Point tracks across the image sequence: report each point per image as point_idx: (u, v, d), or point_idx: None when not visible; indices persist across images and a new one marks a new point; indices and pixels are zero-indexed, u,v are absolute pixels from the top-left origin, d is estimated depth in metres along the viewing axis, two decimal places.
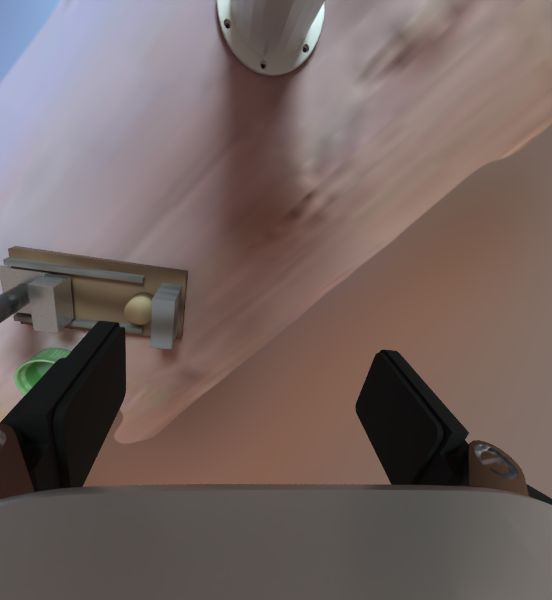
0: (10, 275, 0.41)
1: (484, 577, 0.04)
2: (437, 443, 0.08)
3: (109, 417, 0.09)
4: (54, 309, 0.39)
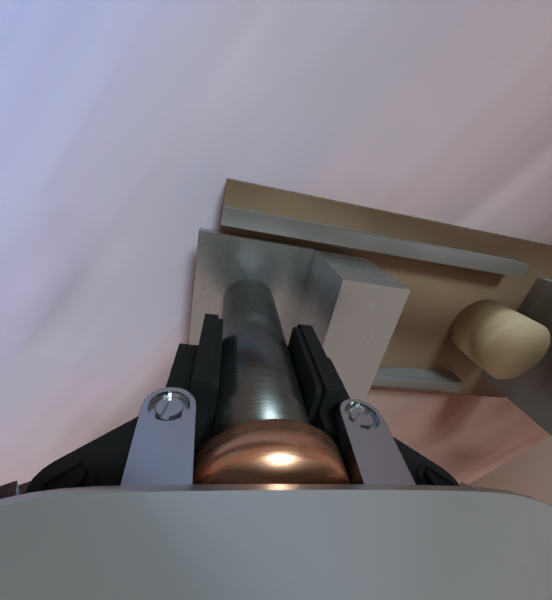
0: (223, 257, 0.15)
1: (484, 577, 0.04)
2: (317, 402, 0.08)
3: None
4: (382, 354, 0.13)
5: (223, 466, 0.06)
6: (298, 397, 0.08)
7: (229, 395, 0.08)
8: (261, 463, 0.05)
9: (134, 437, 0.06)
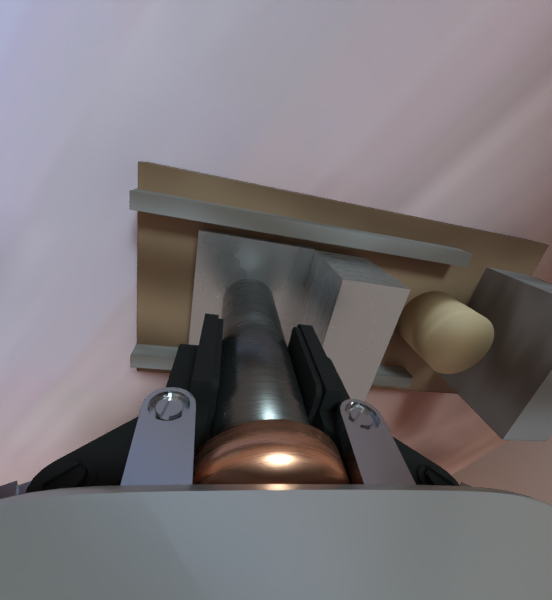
0: (223, 257, 0.15)
1: (483, 576, 0.04)
2: (317, 402, 0.08)
3: None
4: (382, 354, 0.13)
5: (222, 467, 0.06)
6: (297, 396, 0.08)
7: (228, 396, 0.08)
8: (260, 464, 0.05)
9: (134, 437, 0.06)
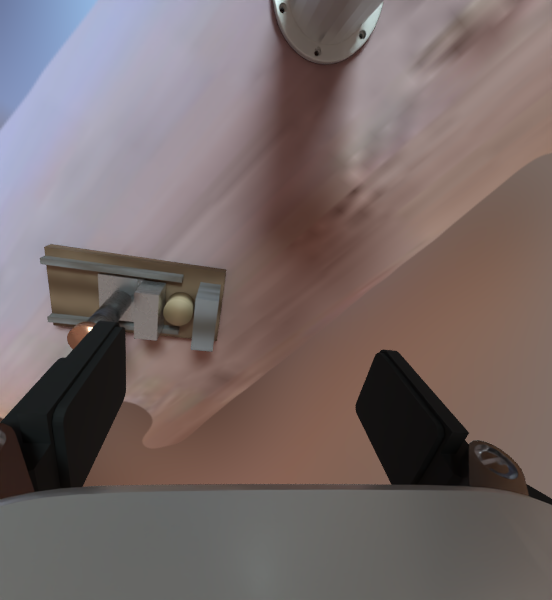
0: (108, 283, 0.41)
1: (484, 577, 0.04)
2: (437, 443, 0.08)
3: (109, 417, 0.09)
4: (157, 317, 0.39)
5: (74, 327, 0.31)
6: None
7: None
8: (80, 326, 0.31)
9: None
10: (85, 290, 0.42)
